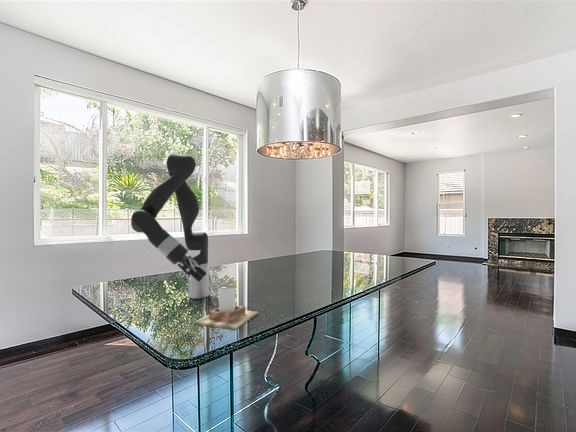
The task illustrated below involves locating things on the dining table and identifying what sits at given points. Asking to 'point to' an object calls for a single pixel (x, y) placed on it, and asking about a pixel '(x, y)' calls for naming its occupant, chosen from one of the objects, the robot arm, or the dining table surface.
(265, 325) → the dining table surface
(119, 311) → the dining table surface
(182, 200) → the robot arm
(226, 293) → the can
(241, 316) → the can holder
